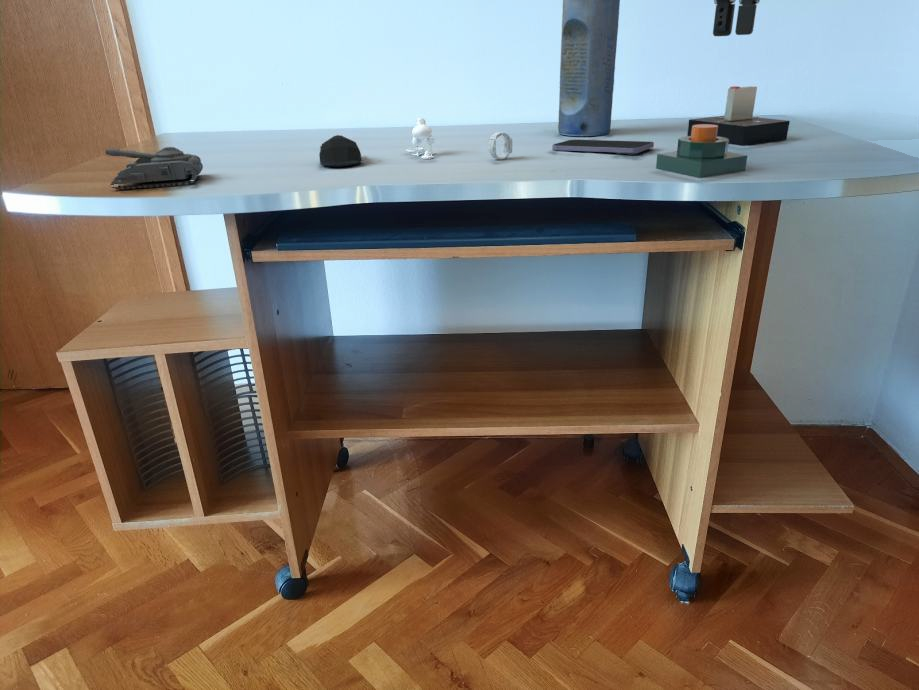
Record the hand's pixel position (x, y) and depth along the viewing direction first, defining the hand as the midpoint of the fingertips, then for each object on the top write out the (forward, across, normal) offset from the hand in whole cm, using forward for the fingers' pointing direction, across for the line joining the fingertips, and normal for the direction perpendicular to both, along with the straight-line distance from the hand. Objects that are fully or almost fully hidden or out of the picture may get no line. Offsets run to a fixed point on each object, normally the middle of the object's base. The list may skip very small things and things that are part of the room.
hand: (733, 35), depth 88 cm
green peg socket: (+16, -12, -2) cm, 20 cm away
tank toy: (+16, -56, +59) cm, 83 cm away
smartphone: (+16, -3, +17) cm, 24 cm away
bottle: (+16, +12, +29) cm, 36 cm away
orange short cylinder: (+12, -12, -2) cm, 17 cm away
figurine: (+16, -20, +41) cm, 48 cm away
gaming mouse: (+16, -31, +49) cm, 60 cm away
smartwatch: (+16, -18, +27) cm, 36 cm away
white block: (+13, +17, +3) cm, 22 cm away
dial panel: (+16, +17, +3) cm, 23 cm away
